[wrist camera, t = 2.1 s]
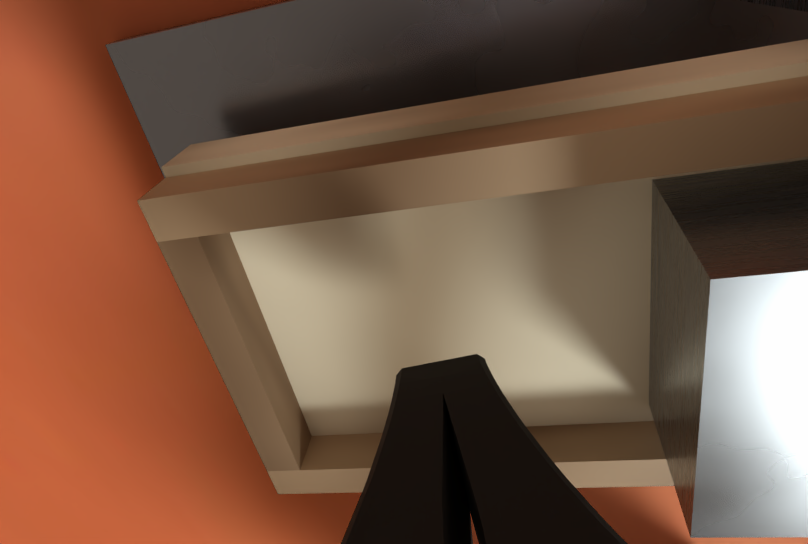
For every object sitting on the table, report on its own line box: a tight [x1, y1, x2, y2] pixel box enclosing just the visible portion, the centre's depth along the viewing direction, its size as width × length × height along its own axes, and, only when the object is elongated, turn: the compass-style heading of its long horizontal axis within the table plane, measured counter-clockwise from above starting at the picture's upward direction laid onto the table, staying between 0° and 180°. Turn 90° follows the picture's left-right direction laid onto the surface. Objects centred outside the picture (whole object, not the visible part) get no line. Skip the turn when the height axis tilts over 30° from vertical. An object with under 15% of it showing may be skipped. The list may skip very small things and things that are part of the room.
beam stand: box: [106, 0, 808, 178], centre depth 12 cm, size 26×13×5 cm, turn 102°
